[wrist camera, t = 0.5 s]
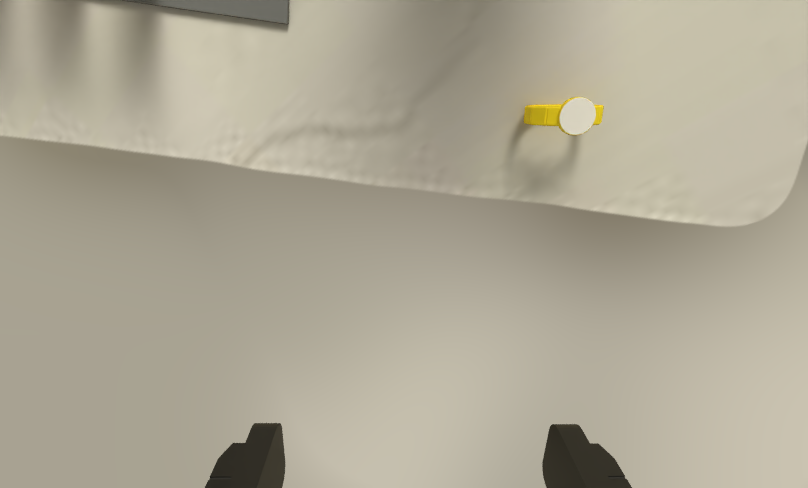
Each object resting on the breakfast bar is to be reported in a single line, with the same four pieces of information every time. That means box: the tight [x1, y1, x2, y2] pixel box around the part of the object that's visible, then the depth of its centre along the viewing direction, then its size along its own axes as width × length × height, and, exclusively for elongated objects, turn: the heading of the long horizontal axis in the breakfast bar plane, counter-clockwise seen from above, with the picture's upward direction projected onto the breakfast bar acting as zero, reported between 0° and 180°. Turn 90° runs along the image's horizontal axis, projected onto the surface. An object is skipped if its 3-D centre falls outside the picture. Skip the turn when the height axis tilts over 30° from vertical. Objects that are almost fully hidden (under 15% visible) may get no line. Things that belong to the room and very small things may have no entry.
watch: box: [524, 97, 604, 136], centre depth 34 cm, size 6×3×6 cm, turn 91°
